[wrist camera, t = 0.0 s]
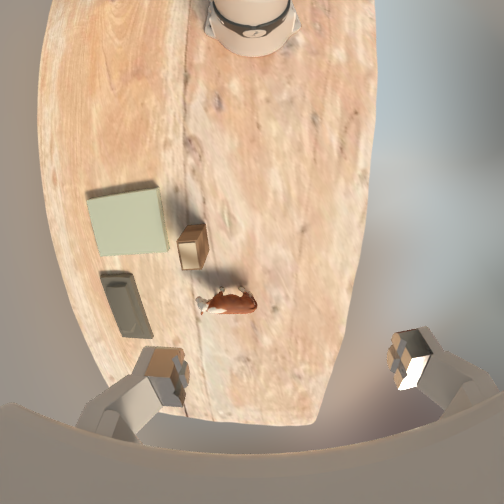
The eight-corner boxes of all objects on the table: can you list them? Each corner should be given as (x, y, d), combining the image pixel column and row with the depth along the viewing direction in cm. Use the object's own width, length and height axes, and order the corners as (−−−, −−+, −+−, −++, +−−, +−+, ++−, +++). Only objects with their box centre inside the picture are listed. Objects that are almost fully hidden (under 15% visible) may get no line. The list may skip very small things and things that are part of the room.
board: (90, 198, 56) (86, 200, 54) (159, 187, 55) (155, 189, 53) (104, 253, 62) (100, 256, 60) (169, 248, 61) (167, 252, 59)
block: (187, 225, 59) (176, 242, 50) (205, 224, 58) (196, 240, 50) (191, 251, 61) (181, 270, 53) (209, 250, 61) (201, 270, 52)
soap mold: (123, 333, 73) (119, 340, 70) (101, 273, 65) (95, 280, 62) (154, 334, 73) (151, 342, 70) (135, 272, 65) (129, 279, 61)
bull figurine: (200, 281, 64) (193, 301, 57) (257, 286, 64) (257, 307, 57) (200, 297, 66) (193, 317, 59) (256, 302, 66) (255, 323, 59)
